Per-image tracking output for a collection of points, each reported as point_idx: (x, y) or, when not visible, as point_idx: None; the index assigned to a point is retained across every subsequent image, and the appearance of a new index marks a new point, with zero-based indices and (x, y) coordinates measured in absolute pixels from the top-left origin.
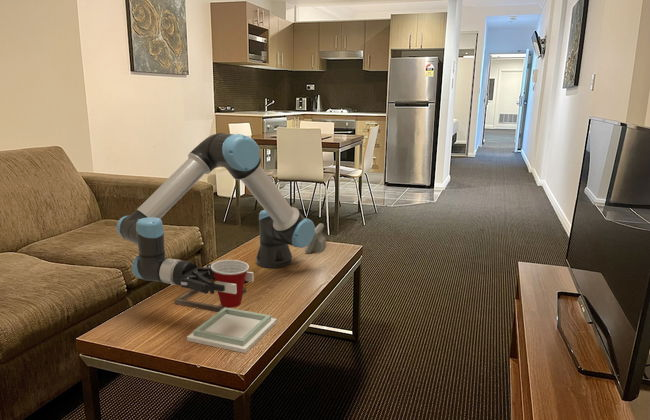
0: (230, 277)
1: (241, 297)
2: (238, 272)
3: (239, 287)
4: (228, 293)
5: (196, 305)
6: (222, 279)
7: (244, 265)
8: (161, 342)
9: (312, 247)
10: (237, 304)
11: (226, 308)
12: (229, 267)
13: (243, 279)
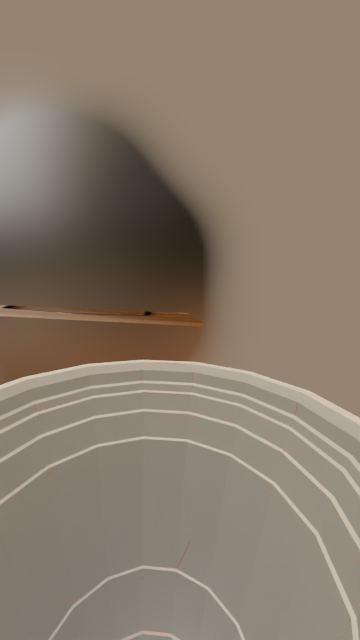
0: (286, 434)
1: (135, 597)
2: (237, 370)
3: (189, 503)
4: (258, 606)
5: None
6: (337, 526)
7: (11, 409)
8: None
9: None
10: (177, 638)
11: None
12: None
13: (151, 449)
